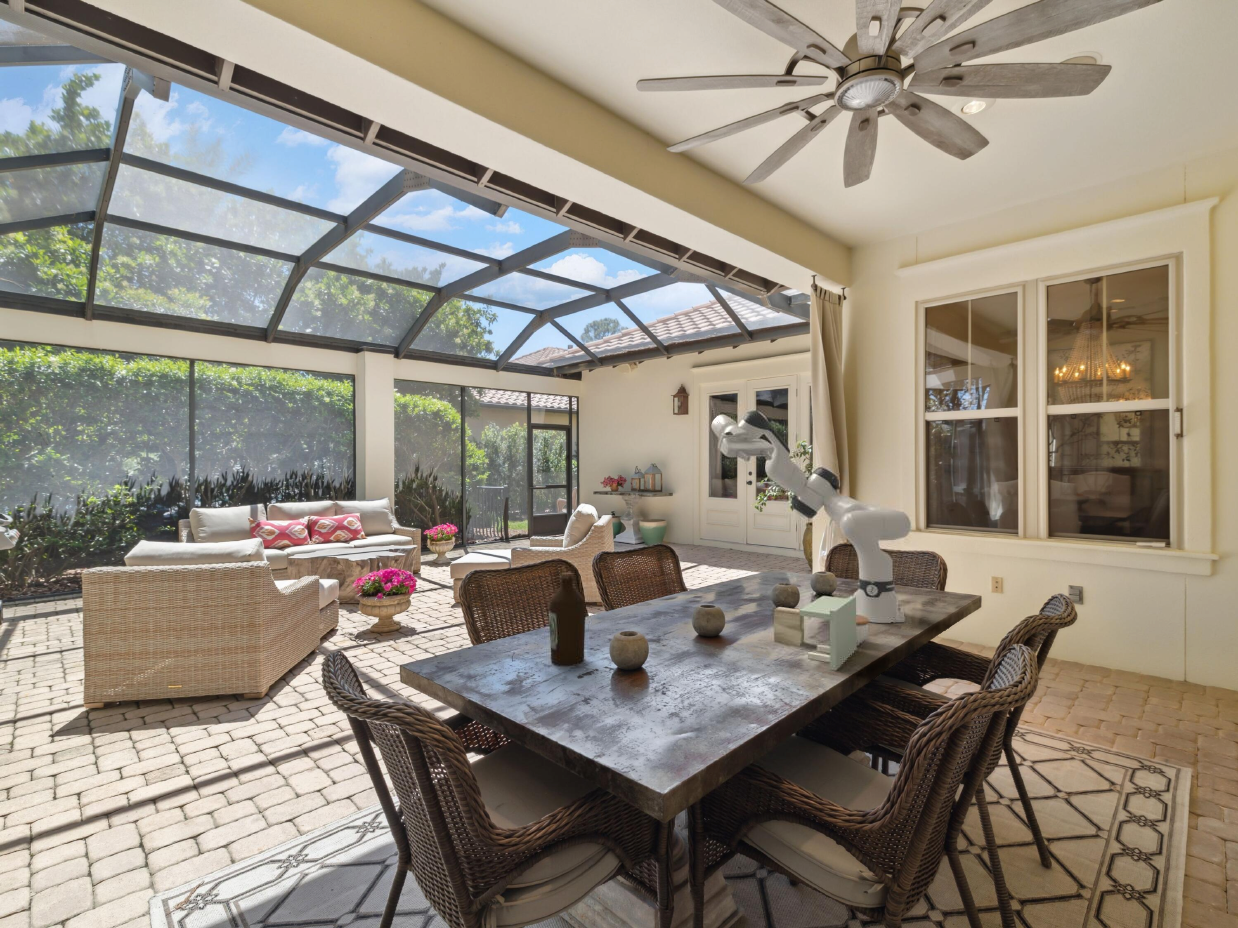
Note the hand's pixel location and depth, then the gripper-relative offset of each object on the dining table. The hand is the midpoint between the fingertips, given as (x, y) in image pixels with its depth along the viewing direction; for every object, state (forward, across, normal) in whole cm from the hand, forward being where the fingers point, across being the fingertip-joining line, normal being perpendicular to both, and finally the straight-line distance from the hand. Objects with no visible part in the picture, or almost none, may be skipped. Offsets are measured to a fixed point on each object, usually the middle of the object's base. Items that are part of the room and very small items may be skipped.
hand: (759, 459), depth 212 cm
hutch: (+64, +8, -29) cm, 71 cm away
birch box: (+50, +9, -37) cm, 63 cm away
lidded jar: (+58, -8, -33) cm, 67 cm away
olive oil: (+38, +78, -42) cm, 96 cm away
